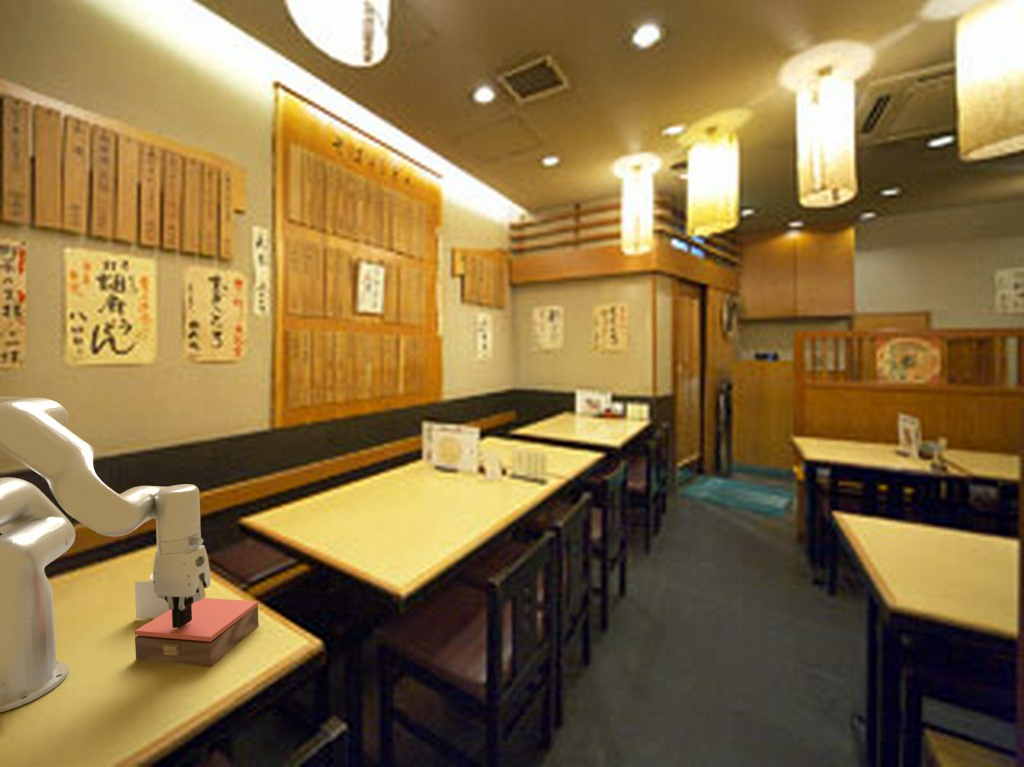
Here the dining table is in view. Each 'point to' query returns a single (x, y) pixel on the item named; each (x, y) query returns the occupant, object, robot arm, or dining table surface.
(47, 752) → the dining table surface
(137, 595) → the toilet tissue
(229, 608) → the lid
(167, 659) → the walnut box
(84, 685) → the dining table surface
